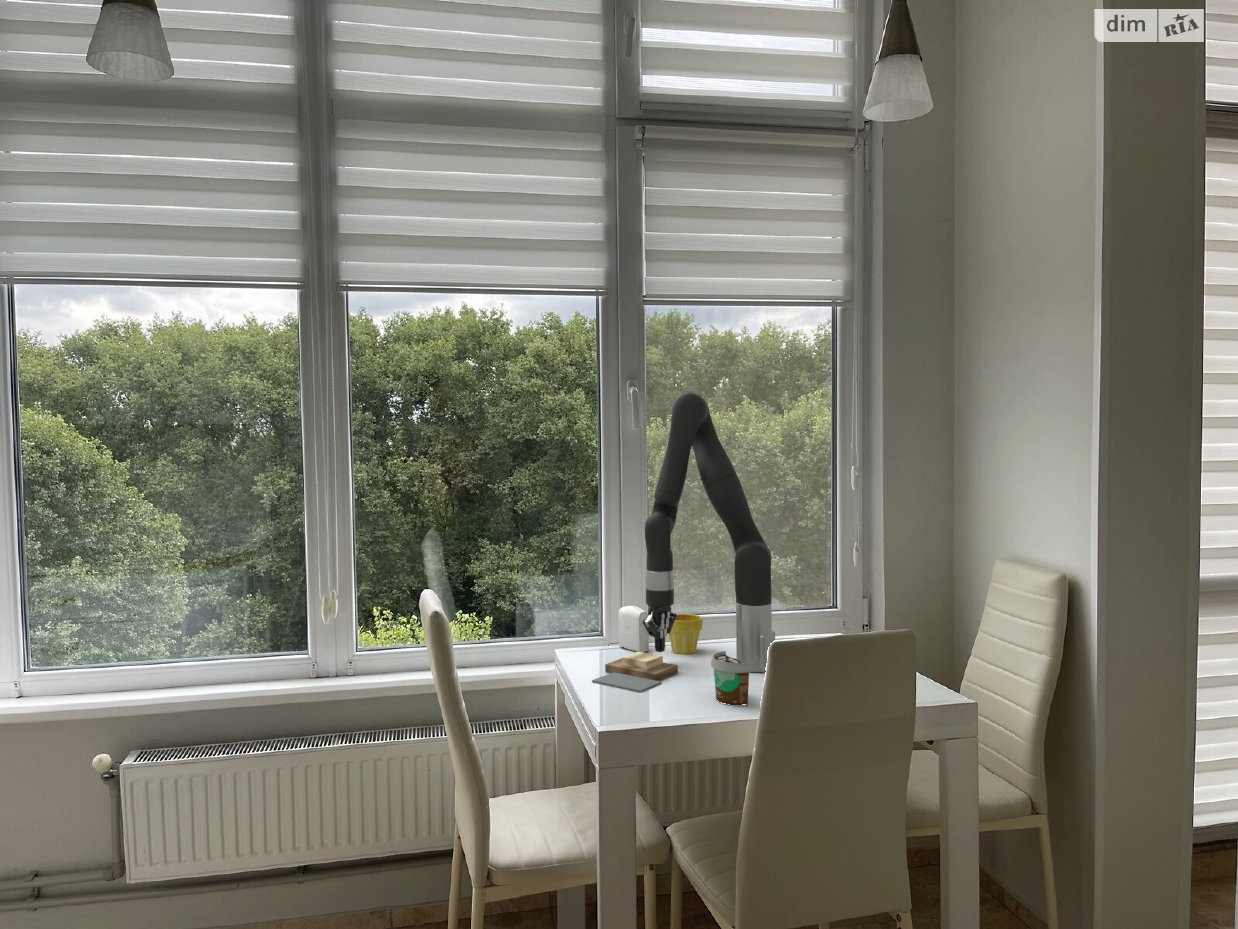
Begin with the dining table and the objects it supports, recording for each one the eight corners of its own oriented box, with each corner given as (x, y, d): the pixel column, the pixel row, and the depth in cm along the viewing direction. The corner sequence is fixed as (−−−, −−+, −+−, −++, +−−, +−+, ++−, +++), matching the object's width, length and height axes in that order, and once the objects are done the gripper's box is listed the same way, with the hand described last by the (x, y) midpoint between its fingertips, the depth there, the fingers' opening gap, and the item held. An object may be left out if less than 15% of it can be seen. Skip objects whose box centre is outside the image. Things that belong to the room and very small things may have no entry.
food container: (701, 695, 202) (701, 653, 202) (725, 692, 204) (724, 650, 204) (726, 710, 191) (726, 666, 190) (751, 707, 193) (750, 663, 192)
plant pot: (701, 646, 248) (701, 613, 247) (703, 656, 238) (703, 620, 237) (665, 646, 248) (665, 613, 248) (666, 656, 238) (665, 621, 238)
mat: (661, 683, 212) (661, 681, 212) (640, 692, 205) (640, 690, 205) (613, 674, 221) (613, 672, 221) (592, 682, 214) (592, 680, 214)
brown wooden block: (677, 672, 221) (677, 665, 221) (655, 682, 213) (655, 674, 213) (628, 663, 231) (628, 656, 231) (605, 672, 223) (605, 664, 223)
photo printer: (616, 647, 249) (615, 605, 248) (627, 644, 252) (627, 602, 251) (639, 654, 241) (639, 610, 240) (651, 651, 244) (650, 608, 243)
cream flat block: (662, 663, 223) (662, 656, 223) (647, 669, 217) (646, 662, 217) (638, 659, 228) (638, 651, 228) (622, 665, 222) (621, 657, 222)
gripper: (656, 592, 221) (657, 658, 222) (685, 584, 231) (685, 648, 232) (633, 589, 226) (633, 654, 226) (662, 581, 236) (662, 644, 237)
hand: (660, 651), depth 229 cm, fingers closed
